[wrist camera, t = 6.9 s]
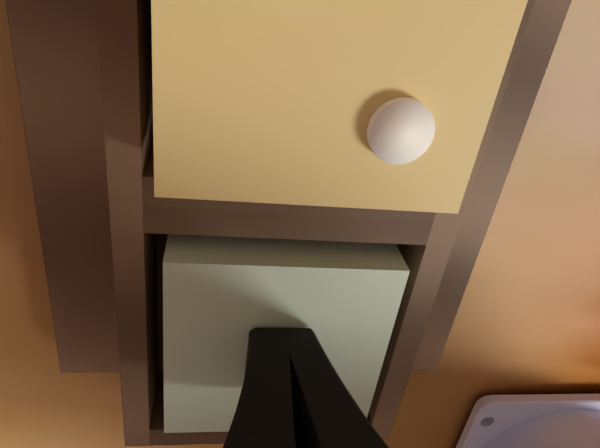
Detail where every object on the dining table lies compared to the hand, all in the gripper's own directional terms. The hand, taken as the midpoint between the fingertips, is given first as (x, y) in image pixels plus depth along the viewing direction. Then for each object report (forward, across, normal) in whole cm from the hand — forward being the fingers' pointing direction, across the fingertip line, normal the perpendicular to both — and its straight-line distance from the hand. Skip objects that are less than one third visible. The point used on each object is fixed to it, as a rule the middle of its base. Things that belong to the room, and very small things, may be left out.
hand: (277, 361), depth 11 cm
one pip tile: (+2, 0, 0) cm, 2 cm away
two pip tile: (+1, 0, -7) cm, 7 cm away
